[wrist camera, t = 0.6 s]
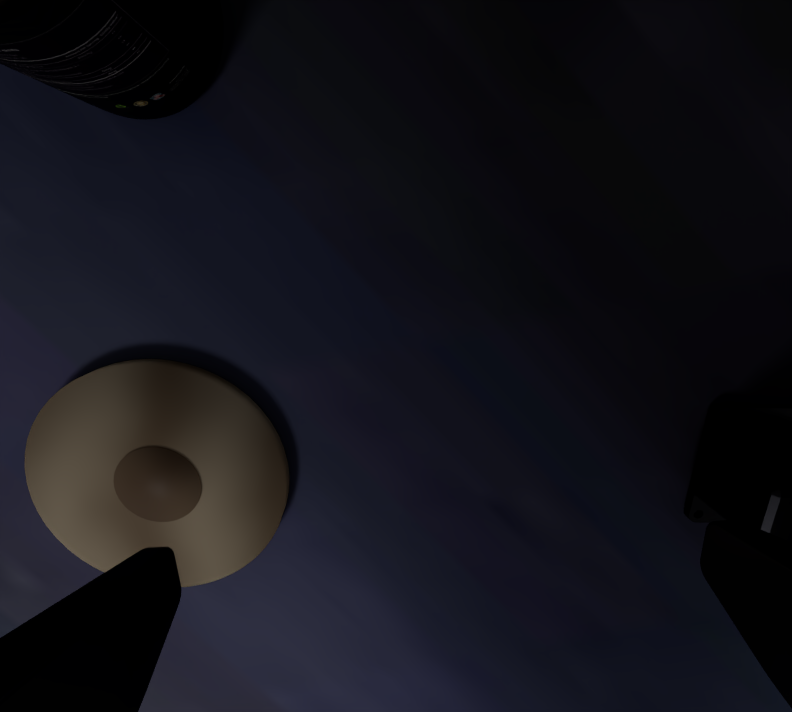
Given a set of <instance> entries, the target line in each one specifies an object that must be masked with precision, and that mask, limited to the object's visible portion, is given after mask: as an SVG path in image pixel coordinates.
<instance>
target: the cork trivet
mask: <svg viewBox="0 0 792 712" xmlns="http://www.w3.org/2000/svg"><path fill="white" fill-rule="evenodd" d="M25 473H26V480H27V485H28V488H29V492H30V495H31V498H32V501H33V503H34V505H35V507H36V509H37V511H38V513H39V515H40V516H41V518H42V519H43V521H44V523H45V524H46V526H47V527H48V528H49V529H50V531H51V532H52V533H53V534H54V536H55V537H56V538H57V539H58V540H59V541H60V542H61V543H62V544H63V545H64V546H65V547H66V548H67V549H68V550H70V551H71V552H72V553H74V554H75V555H76V556H77V557H79V558H80V559H81V560H83V561H85V562H86V563H88V564H90V565H91V566H93V567H94V568H96V569H98V570H100V571H103V572H106V571H108V570H110V569H111V568H113V567H114V566H116V565H118V564H119V563H121V562H122V561H124V560H126V559H127V558H129V557H130V556H132V555H133V554H135V553H137V552H138V551H140V550H142V549H144V548H148V547H170V548H171V549H172V550H173V551H174V554H175V559H176V564H177V568H178V573H179V578H180V583H181V587H189V586H195V585H201V584H205V583H209V582H212V581H216V580H219V579H221V578H223V577H226V576H228V575H230V574H232V573H234V572H236V571H237V570H239V569H241V568H243V567H244V566H245V565H247V564H248V563H249V562H251V561H252V560H253V559H255V558H256V557H257V556H258V555H259V554H260V552H261V551H262V550H263V549H264V548H265V547H266V546H267V544H268V543H269V542H270V540H271V539H272V537H273V535H274V534H275V532H276V530H277V528H278V526H279V523H280V521H281V518H282V515H283V512H284V509H285V506H286V503H287V498H288V493H289V478H290V476H289V467H288V461H287V457H286V453H285V449H284V446H283V444H282V442H281V439H280V437H279V435H278V433H277V431H276V429H275V428H274V426H273V424H272V423H271V421H270V420H269V418H268V417H267V416H266V415H265V413H264V412H263V411H262V409H261V408H260V407H259V406H258V405H257V404H256V403H255V402H254V401H253V400H252V399H251V398H250V397H249V396H248V395H246V394H245V393H244V392H243V391H241V390H240V389H239V388H237V387H236V386H235V385H233V384H232V383H230V382H228V381H227V380H225V379H223V378H222V377H220V376H218V375H216V374H213V373H211V372H209V371H207V370H205V369H202V368H199V367H196V366H193V365H190V364H186V363H181V362H176V361H171V360H161V359H135V360H128V361H123V362H117V363H114V364H111V365H107V366H104V367H101V368H99V369H97V370H94V371H92V372H90V373H88V374H86V375H84V376H82V377H79V378H77V379H75V380H73V381H72V382H70V383H69V384H67V385H66V386H64V387H63V388H62V389H60V390H59V391H58V392H57V393H56V394H55V395H54V396H53V397H52V398H50V399H49V400H48V402H47V403H46V404H45V406H44V407H43V408H42V409H41V411H40V412H39V414H38V416H37V417H36V419H35V421H34V423H33V425H32V427H31V430H30V433H29V436H28V439H27V444H26V451H25Z"/></svg>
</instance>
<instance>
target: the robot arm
mask: <svg viewBox="0 0 792 712" xmlns="http://www.w3.org/2000/svg"><path fill="white" fill-rule="evenodd" d="M720 414H722V416H721V417H720V418H719V416H720ZM696 511H697V512H696ZM684 514H685V516H687V517H688V518H689V519H690V520H691V521H693V522H710V523H709V524H708V526H707V527H706V532H705V537H704V542H703V548H702V553H701V558H700V565H701V570H702V573H703V575H704V577H705V579H706V581H707V582H708V584H709V585H710V587H711V588H712V590H713V592H714V593H715V595H716V596H717V598H718V599H719V601H720V603H721V604H722V606H723V607H724V609H725V610H726V612H727V613H728V615H729V617H730V618H731V620H732V621H733V623H734V624H735V626H736V628H737V629H738V631H739V632H740V634H741V635H742V637H743V638H744V640H745V642H746V643H747V645H748V646H749V648H750V649H751V651H752V653H753V654H754V656H755V657H756V659H757V660H758V662H759V663H760V665H761V666H762V668H763V669H764V671H765V672H766V674H767V675H768V677H769V678H770V679H771V681H772V682H773V684H774V685H775V686H776V688H777V689H778V691H779V692H780V693H781V695H782V696H783V697H784V699H785V700H786V701H787V703H788V704H789V705H790V707H791V708H792V405H723V404H720V405H715V406H713V407H712V408H711V409H710V410H709V412H708V415H707V419H706V423H705V427H704V431H703V435H702V439H701V443H700V447H699V451H698V455H697V459H696V463H695V467H694V471H693V475H692V479H691V483H690V487H689V491H688V495H687V499H686V503H685V507H684ZM180 598H181V583H180V578H179V573H178V568H177V564H176V559H175V554H174V551H173V550H172V549H171V548H170V547H148V548H144V549H142V550H140V551H138V552H137V553H135V554H133V555H132V556H130V557H129V558H127V559H126V560H124V561H122V562H121V563H119V564H118V565H116V566H114V567H113V568H111V569H110V570H108V571H106V572H105V573H103V574H102V575H100V576H98V577H97V578H95V579H94V580H92V581H90V582H89V583H87V584H86V585H84V586H82V587H81V588H79V589H78V590H76V591H75V592H73V593H71V594H70V595H68V596H67V597H65V598H63V599H62V600H60V601H59V602H57V603H55V604H54V605H52V606H51V607H49V608H47V609H46V610H44V611H43V612H41V613H39V614H38V615H36V616H35V617H33V618H31V619H30V620H28V621H27V622H25V623H23V624H22V625H20V626H19V627H17V628H16V629H14V630H12V631H11V632H9V633H8V634H6V635H4V636H3V637H1V638H0V712H138V710H139V708H140V706H141V703H142V701H143V698H144V696H145V693H146V691H147V688H148V685H149V683H150V680H151V677H152V675H153V672H154V669H155V667H156V664H157V661H158V659H159V656H160V653H161V650H162V648H163V645H164V642H165V640H166V637H167V634H168V632H169V629H170V626H171V624H172V621H173V618H174V616H175V613H176V610H177V608H178V605H179V602H180Z"/></svg>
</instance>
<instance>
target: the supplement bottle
mask: <svg viewBox="0 0 792 712" xmlns="http://www.w3.org/2000/svg"><path fill="white" fill-rule="evenodd" d="M222 43H223V20H222V12H221V5H220V1H219V0H0V64H2V65H4V66H7V67H9V68H11V69H13V70H16V71H18V72H20V73H22V74H24V75H27V76H29V77H31V78H33V79H35V80H38V81H40V82H42V83H44V84H46V85H49V86H51V87H53V88H55V89H57V90H60V91H62V92H64V93H66V94H68V95H71V96H73V97H75V98H77V99H80V100H82V101H84V102H86V103H88V104H91V105H93V106H96V107H98V108H100V109H103V110H105V111H107V112H110V113H113V114H116V115H119V116H123V117H127V118H133V119H157V118H163V117H167V116H170V115H173V114H175V113H178V112H180V111H182V110H183V109H185V108H187V107H188V106H189V105H191V104H192V103H193V102H195V101H196V100H197V99H198V98H199V97H200V96H201V94H202V93H203V92H204V91H205V90H206V88H207V87H208V85H209V84H210V82H211V80H212V78H213V76H214V74H215V72H216V69H217V67H218V63H219V60H220V56H221V50H222Z"/></svg>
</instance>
